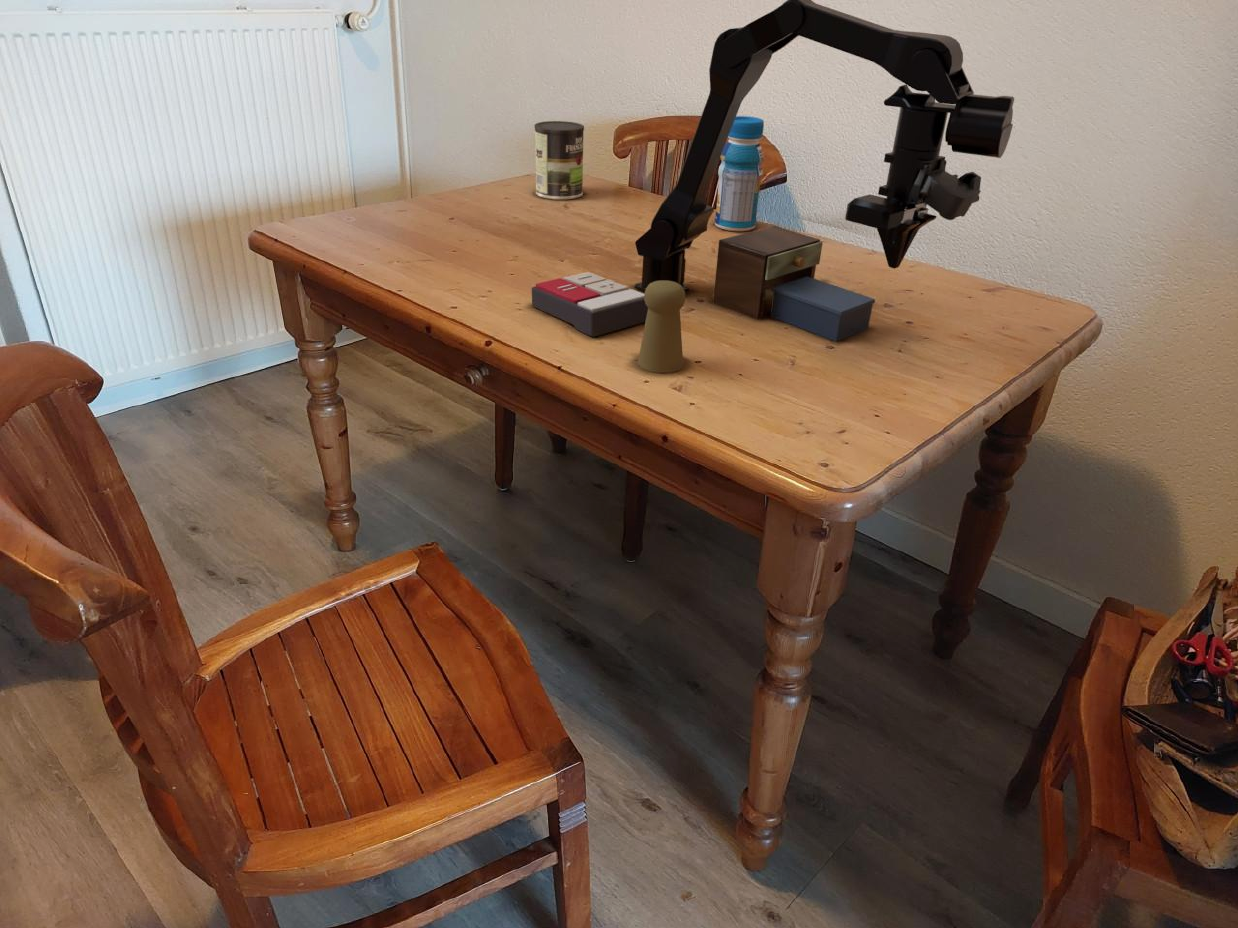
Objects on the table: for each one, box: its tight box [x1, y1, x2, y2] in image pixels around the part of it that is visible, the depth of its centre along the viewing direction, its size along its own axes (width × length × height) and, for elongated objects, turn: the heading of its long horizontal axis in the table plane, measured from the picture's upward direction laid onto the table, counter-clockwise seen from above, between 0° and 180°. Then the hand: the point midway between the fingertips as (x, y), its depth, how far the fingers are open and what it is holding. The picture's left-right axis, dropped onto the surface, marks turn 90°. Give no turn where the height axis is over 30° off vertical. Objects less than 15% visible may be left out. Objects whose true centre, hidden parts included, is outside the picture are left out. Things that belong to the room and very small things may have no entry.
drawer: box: [765, 241, 824, 280], centre depth 132 cm, size 13×10×3 cm
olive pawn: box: [637, 280, 686, 374], centre depth 113 cm, size 6×6×11 cm
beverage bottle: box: [714, 115, 765, 232], centre depth 167 cm, size 8×8×20 cm
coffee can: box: [534, 120, 585, 201], centre depth 185 cm, size 10×10×14 cm
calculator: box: [531, 271, 648, 337], centre depth 129 cm, size 11×4×15 cm
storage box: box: [770, 276, 876, 342], centre depth 129 cm, size 8×12×5 cm
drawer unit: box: [712, 225, 821, 320], centre depth 134 cm, size 13×9×10 cm
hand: (893, 267), depth 118 cm, fingers closed
